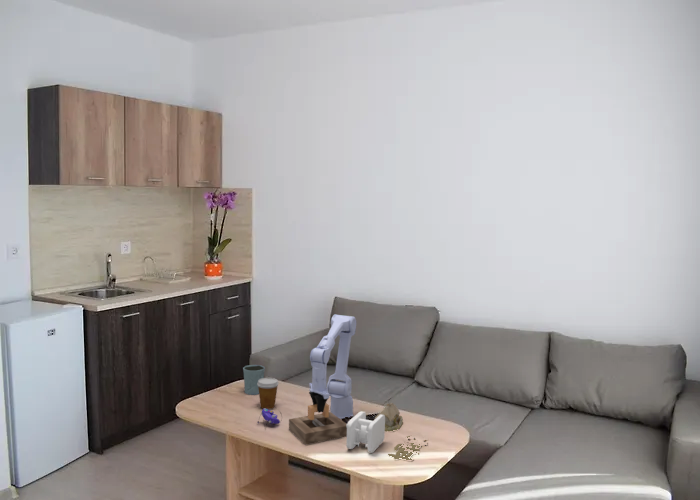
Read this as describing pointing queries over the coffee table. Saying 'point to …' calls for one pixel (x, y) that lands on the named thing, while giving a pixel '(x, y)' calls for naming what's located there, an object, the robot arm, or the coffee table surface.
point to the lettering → (401, 450)
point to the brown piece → (317, 428)
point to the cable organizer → (365, 431)
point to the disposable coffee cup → (267, 392)
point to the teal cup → (252, 378)
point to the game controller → (269, 416)
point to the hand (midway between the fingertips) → (318, 410)
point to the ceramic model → (391, 417)
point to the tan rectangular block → (314, 409)
